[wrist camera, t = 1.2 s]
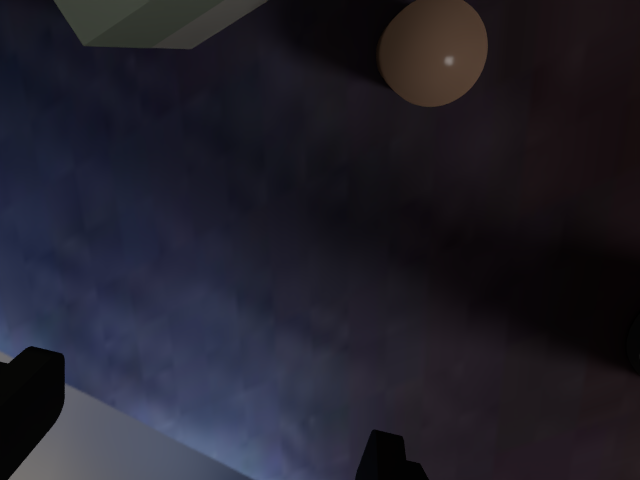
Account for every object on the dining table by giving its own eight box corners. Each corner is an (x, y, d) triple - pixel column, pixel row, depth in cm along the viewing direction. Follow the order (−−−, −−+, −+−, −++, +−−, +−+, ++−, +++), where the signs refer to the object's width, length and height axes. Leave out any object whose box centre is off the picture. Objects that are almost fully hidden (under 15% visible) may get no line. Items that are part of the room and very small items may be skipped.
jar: (454, 3, 26) (488, -15, 19) (456, 89, 28) (487, 99, 21) (372, 16, 26) (378, 3, 20) (379, 99, 28) (386, 112, 22)
